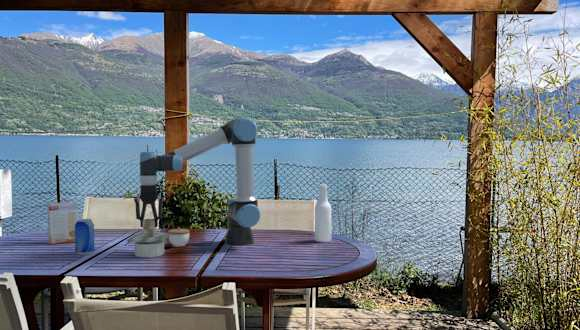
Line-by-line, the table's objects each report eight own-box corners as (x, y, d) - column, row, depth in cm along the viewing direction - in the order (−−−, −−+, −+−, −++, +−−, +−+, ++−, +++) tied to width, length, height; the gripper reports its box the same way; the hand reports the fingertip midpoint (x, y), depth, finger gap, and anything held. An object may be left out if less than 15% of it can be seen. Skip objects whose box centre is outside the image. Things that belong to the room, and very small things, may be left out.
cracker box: (76, 240, 288) (75, 201, 287) (78, 242, 283) (78, 202, 282) (48, 243, 280) (47, 203, 279) (50, 245, 275) (49, 204, 274)
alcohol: (312, 239, 288) (312, 184, 286) (327, 239, 291) (327, 183, 289) (318, 243, 280) (318, 185, 278) (333, 242, 282) (334, 185, 281)
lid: (170, 235, 261) (169, 216, 260) (162, 242, 245) (162, 222, 244) (136, 235, 261) (136, 216, 260) (127, 242, 245) (127, 222, 244)
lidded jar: (184, 248, 267) (184, 229, 266) (164, 247, 269) (164, 228, 269) (193, 244, 277) (192, 225, 277) (173, 243, 280) (173, 225, 279)
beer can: (98, 252, 257) (97, 219, 257) (86, 256, 249) (85, 221, 249) (83, 251, 260) (83, 218, 259) (71, 254, 252) (70, 220, 251)
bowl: (166, 251, 260) (166, 238, 259) (160, 257, 247) (160, 244, 246) (139, 251, 260) (139, 238, 259) (131, 257, 247) (131, 244, 246)
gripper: (168, 183, 255) (169, 232, 257) (132, 183, 255) (133, 232, 256) (165, 185, 248) (165, 235, 249) (127, 185, 248) (128, 235, 249)
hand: (149, 233), depth 253 cm, fingers closed on lid, 4 cm apart
